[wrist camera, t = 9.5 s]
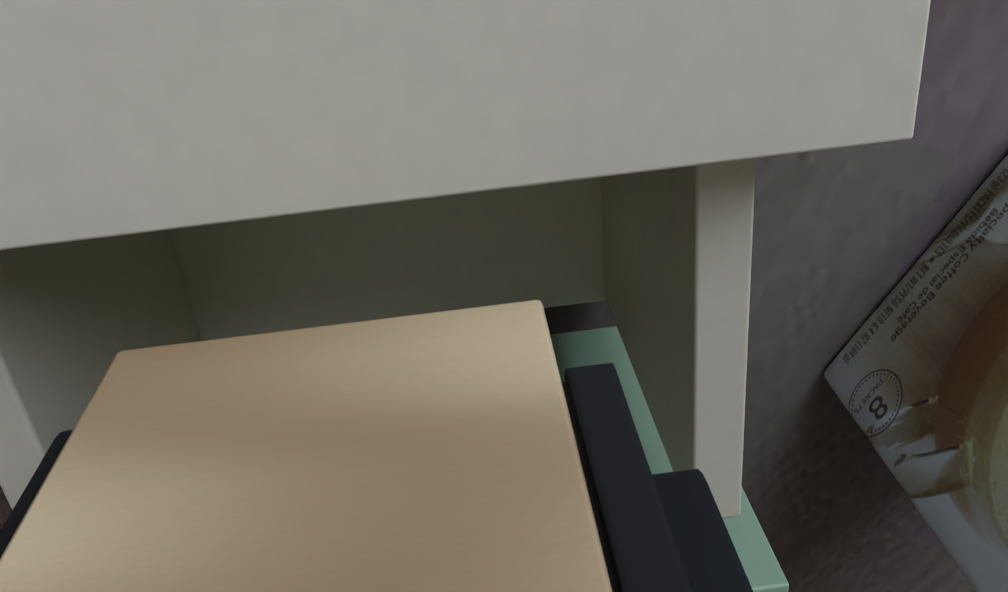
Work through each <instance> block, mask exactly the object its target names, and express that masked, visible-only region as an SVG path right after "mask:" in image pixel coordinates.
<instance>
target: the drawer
mask: <svg viewBox="0 0 1008 592" xmlns="http://www.w3.org/2000/svg"><path fill="white" fill-rule="evenodd" d="M755 165H756V158H754V159H746V160H738V161H729V162H721V163H713V164H705V165H697V166H688V167H680V168H672V169H664V170H655V171H647V172H639V173H631V174H622V175H614V176H606V177H598V178H590V179H581V180H573V181H565V182H557V183H548V184H540V185H532V186H524V187H516V188H507V189H499V190H491V191H483V192H474V193H466V194H458V195H450V196H442V197H433V198H425V199H417V200H409V201H400V202H392V203H384V204H376V205H368V206H359V207H351V208H343V209H335V210H326V211H318V212H310V213H302V214H294V215H285V216H277V217H269V218H261V219H252V220H244V221H236V222H228V223H220V224H211V225H203V226H195V227H187V228H178V229H170V230H162V231H154V232H146V233H137V234H129V235H121V236H113V237H104V238H96V239H88V240H80V241H72V242H63V243H55V244H47V245H39V246H30V247H22V248H14V249H6V250H0V485H1V488H2V490H3V492H4V494H5V496H6V498H7V500H8V502H9V504H10V506H11V508H12V510H13V509H14V507H15V505H16V503H17V502H18V500H19V498H20V497H21V495H22V493H23V492H24V490H25V488H26V486H27V485H28V483H29V481H30V480H31V478H32V476H33V475H34V473H35V471H36V469H37V468H38V466H39V464H40V463H41V461H42V459H43V457H44V456H45V454H46V452H47V451H48V449H49V447H50V446H51V444H52V442H53V440H54V439H55V438H56V436H57V435H58V434H59V433H60V432H63V431H67V430H73V429H74V427H75V425H76V424H77V422H78V420H79V418H80V417H81V415H82V413H83V411H84V410H85V408H86V406H87V404H88V402H89V401H90V399H91V397H92V395H93V394H94V392H95V390H96V388H97V387H98V385H99V383H100V381H101V380H102V378H103V376H104V374H105V372H106V371H107V369H108V367H109V365H110V364H111V362H112V360H113V358H114V357H115V355H116V353H118V352H120V351H123V350H132V349H140V348H148V347H156V346H164V345H172V344H181V343H189V342H197V341H205V340H213V339H221V338H229V337H238V336H246V335H254V334H262V333H270V332H278V331H287V330H295V329H303V328H311V327H319V326H327V325H335V324H344V323H352V322H360V321H368V320H376V319H384V318H393V317H401V316H409V315H417V314H425V313H433V312H442V311H450V310H458V309H466V308H474V307H482V306H490V305H499V304H507V303H515V302H523V301H531V300H540V301H541V302H542V304H543V307H544V308H548V307H556V306H564V305H572V304H580V303H588V302H596V301H604V300H607V303H608V305H609V308H610V310H611V313H612V315H613V318H614V320H615V323H616V326H615V327H607V328H599V329H591V330H584V331H576V332H568V333H560V334H552V335H550V336H551V340H552V344H553V349H554V353H555V357H556V361H557V365H558V369H559V373H560V377H561V381H562V382H563V381H565V368H573V367H581V366H589V365H597V364H605V363H613V364H614V366H615V368H616V371H617V374H618V377H619V380H620V383H621V386H622V389H623V392H624V395H625V397H626V400H627V403H628V406H629V409H630V412H631V415H632V418H633V421H634V424H635V427H636V430H637V432H638V435H639V438H640V441H641V444H642V447H643V450H644V453H645V456H646V459H647V462H648V464H649V467H650V470H651V473H652V474H660V473H668V472H675V471H683V470H691V469H699V470H700V471H701V472H702V473H703V475H704V477H705V479H706V481H707V483H708V485H709V488H710V490H711V492H712V495H713V497H714V499H715V502H716V504H717V507H718V509H719V511H720V514H721V516H722V518H723V521H724V523H725V526H726V528H727V530H728V533H729V535H730V537H731V540H732V542H733V545H734V547H735V549H736V552H737V554H738V556H739V559H740V561H741V563H742V566H743V568H744V571H745V573H746V575H747V578H748V580H749V582H750V585H751V587H752V590H753V592H788V590H789V583H788V581H787V579H786V577H785V575H784V573H783V571H782V569H781V567H780V565H779V563H778V561H777V559H776V557H775V554H774V552H773V550H772V548H771V546H770V544H769V542H768V540H767V538H766V536H765V534H764V532H763V530H762V528H761V525H760V523H759V521H758V519H757V517H756V515H755V513H754V511H753V509H752V507H751V505H750V503H749V501H748V499H747V496H746V494H745V492H744V490H743V488H742V463H743V440H744V417H745V394H746V371H747V348H748V326H749V303H750V280H751V257H752V234H753V211H754V188H755Z"/></svg>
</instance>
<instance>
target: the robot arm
mask: <svg viewBox="0 0 1008 592" xmlns="http://www.w3.org/2000/svg"><path fill="white" fill-rule="evenodd" d="M562 386H563V390H564V394H565V398H566V402H567V406H568V410H569V414H570V418H571V423H572V427H573V431H574V435H575V439H576V443H577V447H578V451H579V455H580V460H581V464H582V468H583V472H584V476H585V480H586V484H587V488H588V493H589V497H590V501H591V505H592V509H593V513H594V517H595V521H596V525H597V530H598V534H599V538H600V542H601V546H602V550H603V554H604V558H605V562H606V567H607V571H608V575H609V579H610V583H611V587H612V591H613V592H753V590H752V587H751V585H750V582H749V580H748V578H747V575H746V573H745V571H744V568H743V566H742V563H741V561H740V559H739V556H738V554H737V552H736V549H735V547H734V545H733V542H732V540H731V537H730V535H729V533H728V530H727V528H726V526H725V523H724V521H723V518H722V516H721V514H720V511H719V509H718V507H717V504H716V502H715V499H714V497H713V495H712V492H711V490H710V488H709V485H708V483H707V481H706V479H705V477H704V475H703V473H702V472H701V471H700V470H699V469H691V470H683V471H675V472H668V473H660V474H652V473H651V470H650V467H649V464H648V462H647V459H646V456H645V453H644V450H643V447H642V444H641V441H640V438H639V435H638V432H637V430H636V427H635V424H634V421H633V418H632V415H631V412H630V409H629V406H628V403H627V400H626V397H625V395H624V392H623V389H622V386H621V383H620V380H619V377H618V374H617V371H616V368H615V366H614V364H613V363H605V364H597V365H589V366H581V367H573V368H565V381H563V382H562ZM72 431H73V430H67V431H63V432H60V433H59V434H58V435H57V436H56V438H55V439H54V440H53V442H52V444H51V446H50V447H49V449H48V451H47V452H46V454H45V456H44V457H43V459H42V461H41V463H40V464H39V466H38V468H37V469H36V471H35V473H34V475H33V476H32V478H31V480H30V481H29V483H28V485H27V486H26V488H25V490H24V492H23V493H22V495H21V497H20V498H19V500H18V502H17V503H16V505H15V507H14V509H13V510H12V512H11V514H10V515H9V517H8V519H7V520H6V522H5V524H4V526H3V527H2V529H1V531H0V558H1V556H2V555H3V553H4V551H5V549H6V547H7V546H8V544H9V542H10V540H11V539H12V537H13V535H14V533H15V532H16V530H17V528H18V526H19V524H20V523H21V521H22V519H23V517H24V516H25V514H26V512H27V510H28V509H29V507H30V505H31V503H32V501H33V500H34V498H35V496H36V494H37V493H38V491H39V489H40V487H41V486H42V484H43V482H44V480H45V479H46V477H47V475H48V473H49V471H50V470H51V468H52V466H53V464H54V463H55V461H56V459H57V457H58V456H59V454H60V452H61V450H62V448H63V447H64V445H65V443H66V441H67V440H68V438H69V436H70V434H71V433H72Z"/></svg>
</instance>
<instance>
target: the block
mask: <svg viewBox="0 0 1008 592" xmlns="http://www.w3.org/2000/svg"><path fill="white" fill-rule="evenodd" d="M0 592H613V591H612V587H611V583H610V579H609V575H608V571H607V567H606V562H605V558H604V554H603V550H602V546H601V542H600V538H599V534H598V530H597V525H596V521H595V517H594V513H593V509H592V505H591V501H590V497H589V493H588V488H587V484H586V480H585V476H584V472H583V468H582V464H581V460H580V455H579V451H578V447H577V443H576V439H575V435H574V431H573V427H572V423H571V418H570V414H569V410H568V406H567V402H566V398H565V394H564V390H563V386H562V381H561V377H560V373H559V369H558V365H557V361H556V357H555V353H554V349H553V344H552V340H551V336H550V332H549V328H548V324H547V320H546V316H545V311H544V307H543V304H542V302H541V301H540V300H531V301H523V302H515V303H507V304H499V305H490V306H482V307H474V308H466V309H458V310H450V311H442V312H433V313H425V314H417V315H409V316H401V317H393V318H384V319H376V320H368V321H360V322H352V323H344V324H335V325H327V326H319V327H311V328H303V329H295V330H287V331H278V332H270V333H262V334H254V335H246V336H238V337H229V338H221V339H213V340H205V341H197V342H189V343H181V344H172V345H164V346H156V347H148V348H140V349H132V350H123V351H120V352H118V353H116V355H115V357H114V358H113V360H112V362H111V364H110V365H109V367H108V369H107V371H106V372H105V374H104V376H103V378H102V380H101V381H100V383H99V385H98V387H97V388H96V390H95V392H94V394H93V395H92V397H91V399H90V401H89V402H88V404H87V406H86V408H85V410H84V411H83V413H82V415H81V417H80V418H79V420H78V422H77V424H76V425H75V427H74V429H73V431H72V433H71V434H70V436H69V438H68V440H67V441H66V443H65V445H64V447H63V448H62V450H61V452H60V454H59V456H58V457H57V459H56V461H55V463H54V464H53V466H52V468H51V470H50V471H49V473H48V475H47V477H46V479H45V480H44V482H43V484H42V486H41V487H40V489H39V491H38V493H37V494H36V496H35V498H34V500H33V501H32V503H31V505H30V507H29V509H28V510H27V512H26V514H25V516H24V517H23V519H22V521H21V523H20V524H19V526H18V528H17V530H16V532H15V533H14V535H13V537H12V539H11V540H10V542H9V544H8V546H7V547H6V549H5V551H4V553H3V555H2V556H1V558H0Z"/></svg>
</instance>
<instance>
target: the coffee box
mask: <svg viewBox="0 0 1008 592" xmlns="http://www.w3.org/2000/svg"><path fill="white" fill-rule="evenodd" d="M824 377H825V378H826V380H827V382H828V383H829V385H830V386H831V387H832V389H833V390H834V392H835V393H836V395H837V396H838V397H839V399H840V400H841V402H842V403H843V405H844V406H845V407H846V409H847V410H848V411H849V413H850V414H851V415H852V417H853V418H854V419H855V421H856V422H857V424H858V426H859V427H860V428H861V429H862V431H863V432H864V433H865V435H866V436H867V437H868V439H869V440H870V441H871V443H872V445H873V446H874V448H875V450H876V451H877V452H878V454H879V455H880V457H881V459H882V460H883V461H884V463H885V464H886V466H887V467H888V468H889V470H890V471H891V473H892V474H893V475H894V477H895V478H896V479H897V481H898V482H899V483H900V485H901V486H902V487H903V489H904V490H905V492H906V493H907V495H908V496H909V498H910V499H911V501H912V502H913V504H914V505H915V507H916V508H917V510H918V511H919V513H920V514H921V515H922V517H923V518H924V520H925V521H926V522H927V524H928V525H929V527H930V528H931V530H932V531H933V533H934V534H935V536H936V537H937V538H938V540H939V541H940V542H941V544H942V545H943V547H944V548H945V549H946V551H947V552H948V554H949V555H950V556H951V558H952V559H953V561H954V562H955V564H956V565H957V566H958V568H959V569H960V571H961V572H962V574H963V575H964V576H965V578H966V579H967V581H968V582H969V584H970V585H971V586H972V588H973V589H974V591H975V592H1008V155H1007V156H1006V157H1005V158H1004V159H1003V160H1002V162H1001V163H1000V164H999V165H998V166H997V168H996V169H995V170H994V171H993V172H992V173H991V175H990V176H989V177H988V178H987V179H986V180H985V182H984V183H983V184H982V185H981V186H980V188H979V189H978V190H977V191H976V192H975V194H974V195H973V196H972V197H971V198H970V200H969V201H968V202H967V203H966V204H965V205H964V207H963V208H962V209H961V210H960V211H959V213H958V214H957V215H956V216H955V217H954V218H953V220H952V221H951V222H950V223H949V224H948V226H947V227H946V228H945V229H944V230H943V231H942V233H941V234H940V235H939V236H938V237H937V238H936V240H935V241H934V242H933V243H932V244H931V246H930V247H929V248H928V249H927V250H926V251H925V253H924V254H923V255H922V256H921V257H920V259H919V260H918V261H917V262H916V263H915V265H914V266H913V267H912V268H911V269H910V271H909V272H908V273H907V274H906V275H905V276H904V278H903V279H902V280H901V281H900V282H899V283H898V284H897V286H896V287H895V288H894V289H893V290H892V291H891V293H890V294H889V295H888V296H887V297H886V299H885V300H884V301H883V302H882V304H881V305H880V306H879V307H878V308H877V309H876V311H875V312H874V313H873V314H872V315H871V316H870V318H869V319H868V320H867V321H866V322H865V323H864V324H863V326H862V327H861V328H860V329H859V330H858V332H857V333H856V334H855V335H854V336H853V338H852V339H851V340H850V341H849V342H848V344H847V345H846V346H845V347H844V348H843V350H842V351H841V352H840V353H839V355H838V356H837V357H836V358H835V359H834V361H833V362H832V363H831V364H830V365H829V367H828V368H827V370H826V371H825V373H824Z"/></svg>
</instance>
